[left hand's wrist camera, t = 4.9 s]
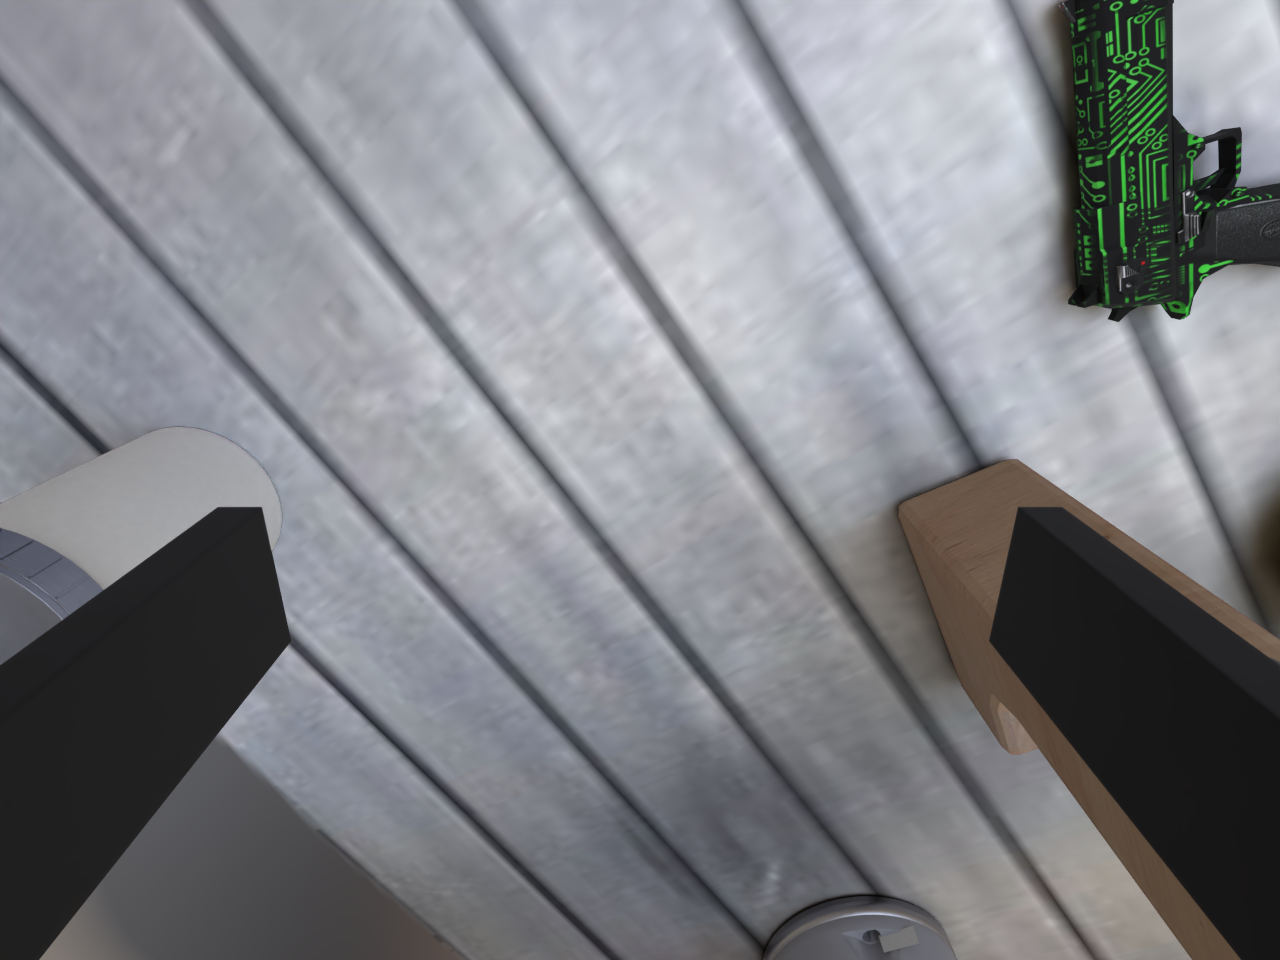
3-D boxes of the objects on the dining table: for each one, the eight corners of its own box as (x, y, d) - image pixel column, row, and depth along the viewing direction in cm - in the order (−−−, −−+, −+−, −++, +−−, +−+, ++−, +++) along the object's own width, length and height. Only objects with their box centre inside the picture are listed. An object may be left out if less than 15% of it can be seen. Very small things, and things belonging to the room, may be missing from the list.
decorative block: (960, 687, 47) (1420, 1386, 19) (890, 501, 42) (1376, 1085, 14) (1071, 646, 46) (1732, 1330, 18) (1014, 451, 41) (1804, 981, 13)
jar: (83, 502, 42) (-213, 662, 28) (173, 392, 40) (-99, 504, 25) (222, 604, 45) (19, 800, 30) (315, 506, 43) (143, 669, 28)
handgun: (1373, 290, 35) (1071, 347, 36) (1318, 285, 38) (1039, 338, 38) (1441, -101, 30) (1082, -26, 30) (1370, -73, 32) (1042, -5, 33)
